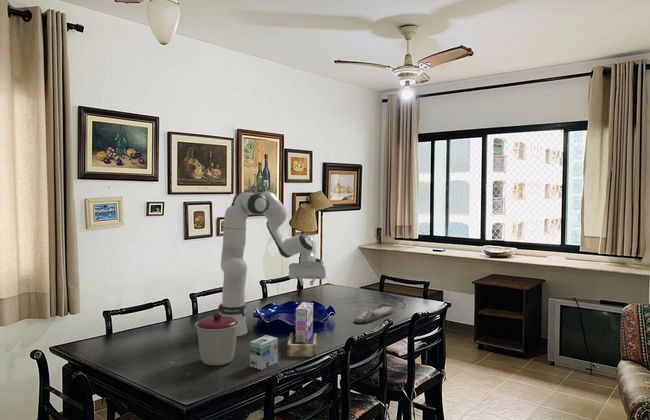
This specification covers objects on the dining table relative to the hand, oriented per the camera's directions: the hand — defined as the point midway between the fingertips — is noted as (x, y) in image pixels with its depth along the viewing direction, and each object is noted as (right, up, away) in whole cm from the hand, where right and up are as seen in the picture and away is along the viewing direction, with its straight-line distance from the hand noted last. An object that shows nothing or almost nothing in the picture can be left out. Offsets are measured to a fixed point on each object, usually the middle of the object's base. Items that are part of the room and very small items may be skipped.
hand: (306, 284), depth 254 cm
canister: (-36, -24, -54) cm, 69 cm away
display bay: (0, -24, -38) cm, 44 cm away
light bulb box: (-16, -25, -57) cm, 64 cm away
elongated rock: (+38, -22, +17) cm, 47 cm away
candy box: (0, -23, -23) cm, 33 cm away
